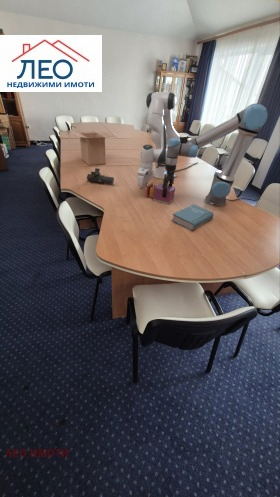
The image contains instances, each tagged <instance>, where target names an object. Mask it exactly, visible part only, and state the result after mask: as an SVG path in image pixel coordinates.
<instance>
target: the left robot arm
mask: <svg viewBox="0 0 280 497" xmlns="http://www.w3.org/2000/svg"><path fill="white" fill-rule="evenodd" d="M145 103H146V107H147V108H148V109H147V110H148V111H147V115H146V124H147V126H148V128H149V129H150V130H151V131H152V132H151V134H150V140H151V142H153V145H154V146H155V147H154V146H153V145H152V144H144V145H143V146H142V147H141V152H140V166H139V168H138V170H137V171H136V174H137V178H136V184H137V186H138V187H142V186H143V189H147V186H148V185H149V182H150V181H152V180H153V178H156V179H162V180H164V176H165V174H166V173H167V170H166V169H165V164H166V157H167V149H168V148H167V146H168V143H169V140H170V139H171V138H176V139H180V134H179V133H178V132H177V131H176V129H175V128H174V126H173V120H172V119H173V118H172V110H173V109H174V108H175V107H176V104H177V96H176V94H175V93H174V92H172V91H171V92H166V91H157V92H149V93H148V94H147V96H146V100H145ZM180 140H181V139H180ZM153 164H155V165H153ZM196 164H199V162H195V163H192V164H190V165H189V166H187V167H185V168H181V169H176V170H175V172H174V178H177V175H176V174H175V173H176V172H179V171H184V170H186V169H188V168H191V167H192V166H194V165H196ZM153 166H154V169H153Z"/></svg>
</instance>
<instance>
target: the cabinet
mask: <svg viewBox="0 0 280 497" xmlns="http://www.w3.org/2000/svg"><path fill="white" fill-rule="evenodd" d="M156 185H157V186H156V187H155V188H154V187H153V188H154V196H153V198H152V201H155V202H157V203H161V204H165V205H170V204H171V203H172V202H173V201H175V200H174V199H175V192H176V186H173V185H172V186H167V193H166V198H164V197H162V194H163V188H162V186H163V183H159V184H156Z"/></svg>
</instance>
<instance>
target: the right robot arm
mask: <svg viewBox="0 0 280 497" xmlns="http://www.w3.org/2000/svg"><path fill="white" fill-rule="evenodd" d="M267 120H268V110H267V108H266V106H264V105H263V104H261V103H252V104H249V105H248V106H247V107H244V108H243V109H241V110H240V111H239V112H237V113H235V115H234V116H233V117H231V118H230V119H227V120H225V121H224V122H222V123H220V124H218V125H216V126H215V127H212V128H210V129H208V130H207V131H206V132H204V133H201V134H200V135H197V136H196V137H194V138H192V139H189V140H188V141H186V143H184V142H183V143H182V142H181V139H176V138H171V139H170V140H169V143H168V145H167V148H166V149H167V157H166V164H165V169H166V170H167V173H166V174H165V176H164V179H163V182H162V184H163V186H162V188H163V194H162V197H164V198H166V193H167V186H172V187H173V185H174V184H175V177H174V174H175V173H176V172H175V171H177V164H178V158H179V157H186V158H190V159H191V158H192V159H193V158H194V159H196V158H197V156H198V150H201V148H203V147H206V146H208V145H209V144H211V143H214V142H215V141H218V140H219V139H221V138H223V137H226V136H227V135H229V134H232V133H233V132H236V131H238V133H237V135H236V137H235V140H234V142H233V144H232V147H231V149H230V151H229V153H228V155H227V157H226V159H225V162H224V164H223V166H222V169H221V170H216V171H215V172H214V174H213V178H212V182H211V186H210V188H209V192H208V193H207V195H206V196H205V199H204V200H205V201H204V202H205V203H206V204H208V205H210V206H213V207H224V206H226V204H227V201H229V202H235V201H239V200H248V201H252V202H257V201H259V200H261V198H260V197H258V198H257V199H251V198H246V197H241V198H236V199H229V198H227V197H228V196H229V195H230V193H231V190H232V189H231V188H232V186H233V184H234V182H235V180H236V179H235V174H236V173H237V170H238V169H239V167H240V165H241V162H242V161H243V159H244V157H245V154H246V153H247V150H248V148H249V147H250V144H251V142H252V141H253V139H254V137H256V136H258V134H259V132H260V130H261V128H262V127H263V126H264V125H265V123H266V122H267Z"/></svg>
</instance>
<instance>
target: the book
mask: <svg viewBox="0 0 280 497" xmlns="http://www.w3.org/2000/svg"><path fill="white" fill-rule="evenodd" d="M214 215H215V213H214V212H213V211H211V210H209V209H206V208H204V207H201V206H199V205H197V204H193V203H192V204H191V205H189V206H187V207H185V208H183V209H180V210H178V211H176V212H173V213H172V219H171V222H173V223H175V224H178V225H179V226H181V227H182V228H183V227H184V228H185V229H187V230H190V231H194V230H195V229H196V230H197V228H200V226H202V225H205V224H206V223H208V222H209V221H211V220H213V219H214Z"/></svg>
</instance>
